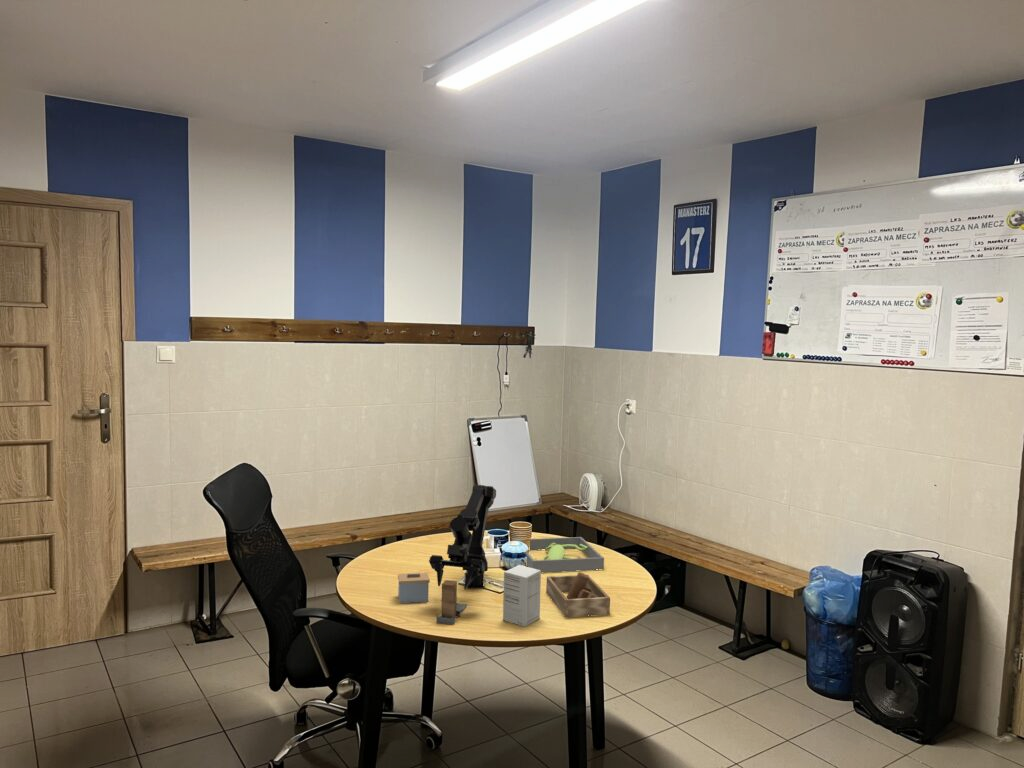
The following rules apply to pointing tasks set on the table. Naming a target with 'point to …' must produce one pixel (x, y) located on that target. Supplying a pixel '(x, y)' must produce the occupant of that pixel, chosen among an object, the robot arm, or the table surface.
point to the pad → (461, 606)
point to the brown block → (449, 598)
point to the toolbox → (413, 587)
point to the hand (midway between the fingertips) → (451, 587)
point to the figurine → (560, 551)
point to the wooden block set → (580, 588)
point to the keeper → (448, 618)
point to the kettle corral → (561, 565)
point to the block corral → (577, 605)
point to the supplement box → (521, 595)
